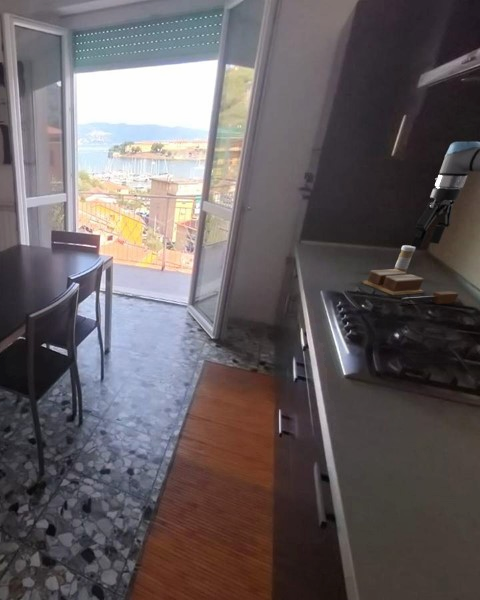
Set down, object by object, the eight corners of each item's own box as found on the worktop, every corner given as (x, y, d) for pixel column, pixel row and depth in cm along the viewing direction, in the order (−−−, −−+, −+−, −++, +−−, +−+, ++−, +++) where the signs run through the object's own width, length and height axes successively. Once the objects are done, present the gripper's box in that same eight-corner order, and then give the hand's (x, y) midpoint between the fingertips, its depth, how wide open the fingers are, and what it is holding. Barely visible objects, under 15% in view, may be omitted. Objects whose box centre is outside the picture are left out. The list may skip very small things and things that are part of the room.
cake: (422, 293, 144) (428, 279, 142) (392, 295, 142) (398, 281, 140) (390, 281, 157) (395, 268, 155) (362, 282, 155) (367, 269, 153)
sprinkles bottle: (395, 272, 168) (406, 244, 162) (406, 275, 164) (418, 246, 159) (390, 273, 166) (400, 245, 161) (401, 276, 162) (412, 248, 157)
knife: (447, 300, 138) (452, 290, 136) (454, 302, 135) (459, 293, 134) (396, 304, 134) (400, 294, 133) (402, 306, 132) (406, 296, 131)
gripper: (450, 185, 137) (429, 239, 146) (417, 188, 127) (396, 246, 136) (477, 187, 131) (453, 243, 139) (444, 190, 121) (420, 251, 130)
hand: (425, 245), depth 138 cm, fingers open, 13 cm apart
